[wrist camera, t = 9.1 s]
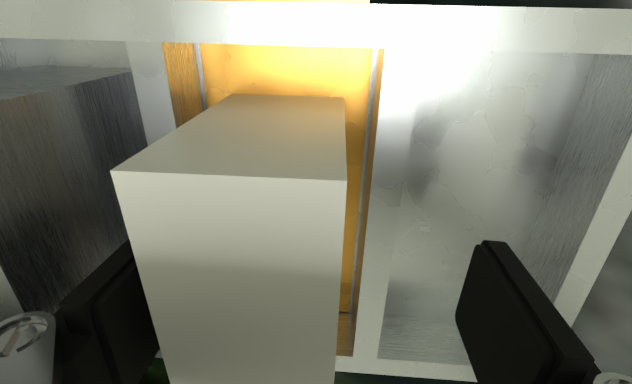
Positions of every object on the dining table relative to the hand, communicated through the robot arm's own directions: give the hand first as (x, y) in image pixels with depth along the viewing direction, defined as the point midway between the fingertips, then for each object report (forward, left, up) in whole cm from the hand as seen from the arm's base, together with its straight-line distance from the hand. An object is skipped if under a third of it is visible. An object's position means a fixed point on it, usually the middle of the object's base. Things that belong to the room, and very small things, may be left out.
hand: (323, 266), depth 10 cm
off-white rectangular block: (-1, +2, -4) cm, 4 cm away
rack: (0, +2, -4) cm, 5 cm away
